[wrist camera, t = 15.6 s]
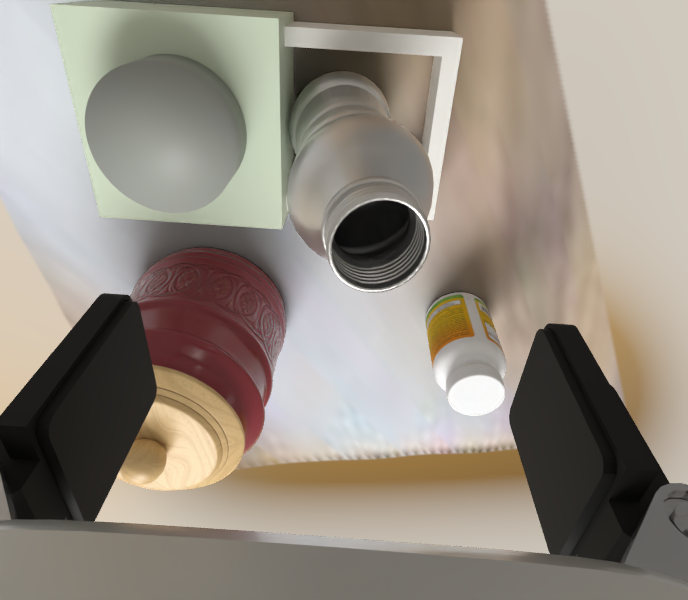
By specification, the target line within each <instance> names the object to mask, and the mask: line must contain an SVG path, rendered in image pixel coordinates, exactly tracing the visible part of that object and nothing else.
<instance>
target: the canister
mask: <svg viewBox="0 0 688 600" xmlns="http://www.w3.org/2000/svg"><path fill="white" fill-rule="evenodd" d="M130 297H131V299H132V301H133V302H137V303H138V304H139V307H140V311H141V316H142V320H143V325H144V329H145V334H146V338H147V343H148V347H149V352H150V357H151V361H152V366H153V370H154V375H155V379H156V384H157V393H156V398H155V400H154V403H153V405H152V407H151V409H150V411H149V413H148V415H147V417H146V419H145V421H144V423H143V425H142V427H141V429H140V431H139V433H138V435H137V437H136V439H135V441H134V443H133V445H132V447H131V449H130V451H129V453H128V455H127V457H126V459H125V461H124V463H123V465H122V467H121V469H120V471H119V473H118V475H117V477H116V478H118V479H120V480H122V481H124V482H127V483H129V484H132V485H136V486H139V487H143V488H147V489H153V490H164V491H165V490H166V491H168V490H169V491H170V490H181V489H192V488H199V487H203V486H207V485H210V484H213V483H215V482H217V481H219V480H221V479H223V478H224V477H226V476H227V475H229V474H230V473H231V472H232V471H233V470H234V469H235V468H236V467H237V465H238V464H239V462H240V460H241V458H242V456H243V454H245V453H246V452H247V451H248V450H249V449H250V448H251V447H252V446H253V445H254V444H255V443H256V441H257V440H258V438H259V436H260V434H261V432H262V429H263V426H264V420H265V408H264V407H265V406H266V404H267V402H268V400H269V398H270V395H271V391H272V382H273V379H272V378H273V374H274V370H275V366H276V362H277V358H278V355H279V353H280V351H281V349H282V346H283V343H284V338H285V333H286V317H285V309H284V304H283V301H282V298H281V295H280V293H279V291H278V289H277V288H276V286H275V285H274V283H273V282H272V280H271V279H270V278H269V277H268V276H267V275H266V274H265V273H264V272H263V271H262V270H261V269H260V268H259V267H257V266H256V265H255V264H253V263H252V262H250V261H248V260H247V259H245V258H243V257H241V256H239V255H236V254H234V253H231V252H228V251H225V250H221V249H216V248H206V247H197V248H188V249H184V250H180V251H177V252H174V253H172V254H170V255H168V256H166V257H165V258H163V259H162V260H160V261H158V262H157V263H155V264H154V265H152V266H151V267H150V268H149V269H148V270H147V271H146V272H145V273H144V274H143V276H142V277H141V278H140V279H139V281H138V282H137V284H136V285H135V287H134V289H133V292H132V294H131V295H130Z"/></svg>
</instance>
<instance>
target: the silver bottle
mask: <svg viewBox="0 0 688 600" xmlns="http://www.w3.org/2000/svg"><path fill="white" fill-rule="evenodd" d="M289 135H290V140H291V144H292V147H293V149H294V151H295V154H296V157H295V160H294V163H293V165H292V168H291V171H290V175H289V181H288V187H287V206H288V210H289V214H290V218H291V220H292V222H293V225H294V227H295V229H296V231H297V232H298V233H299V235H300V236H301V237H302V239H303V240H304V241H305V242H306V244H307V245H308V246H309V247H310V248H311V249H312V250H314V251H315V252H316V253H317V254H318V255H320V256H321V257H323V258H325V259H327V260H328V261H329V264H330V266H331V268H332V270H333V272H334V273H335V274H336V276H337V277H338V278H339V279H340V280H341V281H342V282H343V283H345V284H346V285H348V286H349V287H351V288H353V289H356V290H359V291H362V292H370V293H375V292H384V291H388V290H392V289H394V288H397V287H399V286H401V285H403V284H404V283H406V282H407V281H409V280H410V279H411V278H412V277H413V276H415V275H416V273H417V272H418V271H419V270H420V269H421V267H422V266H423V264H424V262H425V260H426V258H427V255H428V252H429V250H430V242H431V237H430V228H429V225H428V221H427V218H428V215H429V212H430V209H431V205H432V197H433V188H434V180H433V170H432V166H431V163H430V160H429V157H428V155H427V153H426V151H425V149H424V147H423V146H422V144H421V143H420V142H419V141H418V139H417V138H416V137H415V136H414V135H413V134H412V133H411V132H410V131H408V130H407V129H406V128H405V127H403V126H402V125H400V124H399V123H398V122H396V121H394V120H392V119H391V117H390V110H389V107H388V104H387V101H386V99H385V97H384V95H383V94H382V92H381V90H380V89H379V88H378V87H377V86H376V85H375V84H374V83H373V82H372V81H370V80H369V79H368V78H366V77H364V76H362V75H360V74H358V73H354V72H349V71H335V72H331V73H327V74H324V75H322V76H320V77H318V78H316V79H315V80H313V81H312V82H311V83H309V84H308V85H307V86H306V87H305V88H304V89H303V91H302V92H301V93H300V94H299V96H298V98H297V99H296V101H295V103H294V106H293V108H292V111H291V115H290V121H289Z"/></svg>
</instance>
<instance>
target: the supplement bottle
mask: <svg viewBox="0 0 688 600" xmlns="http://www.w3.org/2000/svg"><path fill="white" fill-rule="evenodd" d="M426 330H427V336H428V341H429V348H430V354H431V360H432V366H433V372H434V376H435V379H436V381H437V383H438V384H439V385H440V387H441V388H442V389H444V390H445V391H446V393H447V398H448V401H449V404H450V405H451V407H452V408H453V409H454V410H456V411H457V412H459V413H462V414H465V415H471V416H476V415H483V414H486V413H489V412H491V411H493V410H495V409H496V408H498V407H499V406H500V405H501V403H502V402H503V400H504V397H505V387H504V384H503V378H504V376H505V373H506V360H505V356H504V353H503V350H502V347H501V345H500V342H499V339H498V336H497V334H496V330H495V328H494V325H493V322H492V319H491V316H490V314H489V311H488V309H487V307H486V305H485V304H484V302H483V301H482V300H481V299H479V298H478V297H476V296H475V295H472V294H469V293H463V292H456V293H450V294H447V295H444V296H442V297H440V298H439V299H437V300H436V301H435V302H434V303H433V304H432V305H431V306H430V308H429V309H428V311H427V314H426Z"/></svg>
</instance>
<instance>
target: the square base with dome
mask: <svg viewBox="0 0 688 600" xmlns="http://www.w3.org/2000/svg"><path fill="white" fill-rule="evenodd" d="M50 7H51V12H52V16H53V20H54V25H55V29H56V33H57V37H58V42H59V46H60V50H61V54H62V59H63V63H64V67H65V71H66V76H67V80H68V84H69V88H70V93H71V97H72V101H73V105H74V110H75V114H76V118H77V122H78V127H79V131H80V135H81V140H82V144H83V148H84V152H85V157H86V161H87V165H88V169H89V174H90V178H91V182H92V186H93V191H94V195H95V199H96V203H97V208H98V212H99V216H100V217H105V218H120V219H134V220H149V221H164V222H179V223H193V224H208V225H223V226H238V227H252V228H267V229H283V226H284V223H285V220H286V218H287V215H288V212H289V210H288V206H287V187H288V181H289V175H290V171H291V168H292V165H293V163H294V149H293V147H292V144H291V140H290V135H289V121H290V115H291V111H292V108H293V106H294V47H302V48H317V49H333V50H349V51H364V52H380V53H395V54H411V55H427V56H434V57H433V64H432V72H431V79H430V86H429V94H428V101H427V108H426V116H425V123H424V130H423V137H422V146H423V147H424V149H425V151H426V153H427V155H428V157H429V160H430V163H431V166H432V170H433V180H434V188H433V197H432V205H431V209H430V212H429V215H428V218H427V220H433V219H434V213H435V207H436V201H437V195H438V189H439V182H440V176H441V170H442V164H443V158H444V152H445V146H446V140H447V133H448V127H449V121H450V115H451V109H452V103H453V97H454V91H455V85H456V78H457V72H458V66H459V60H460V54H461V48H462V42H463V37H461V36H460V35H458V34H456V33H455V32H453V31H438V30H423V29H407V28H391V27H375V26H360V25H344V24H328V23H313V22H297V21H294V12H284V11H268V10H253V9H237V8H221V7H205V6H190V5H174V4H158V3H142V2H126V1H111V0H95V1H82V2H70V3H57V4H50Z"/></svg>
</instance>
